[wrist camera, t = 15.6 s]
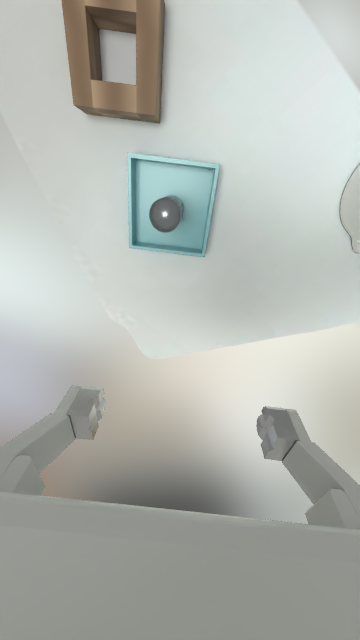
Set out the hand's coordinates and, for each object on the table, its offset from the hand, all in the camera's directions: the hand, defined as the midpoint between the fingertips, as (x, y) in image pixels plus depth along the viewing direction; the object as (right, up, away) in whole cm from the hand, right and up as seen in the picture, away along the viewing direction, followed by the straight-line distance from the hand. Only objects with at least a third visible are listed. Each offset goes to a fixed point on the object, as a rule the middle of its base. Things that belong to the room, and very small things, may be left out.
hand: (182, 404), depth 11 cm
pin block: (-8, +38, +17) cm, 42 cm away
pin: (-2, +23, +25) cm, 34 cm away
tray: (-2, +23, +26) cm, 35 cm away
